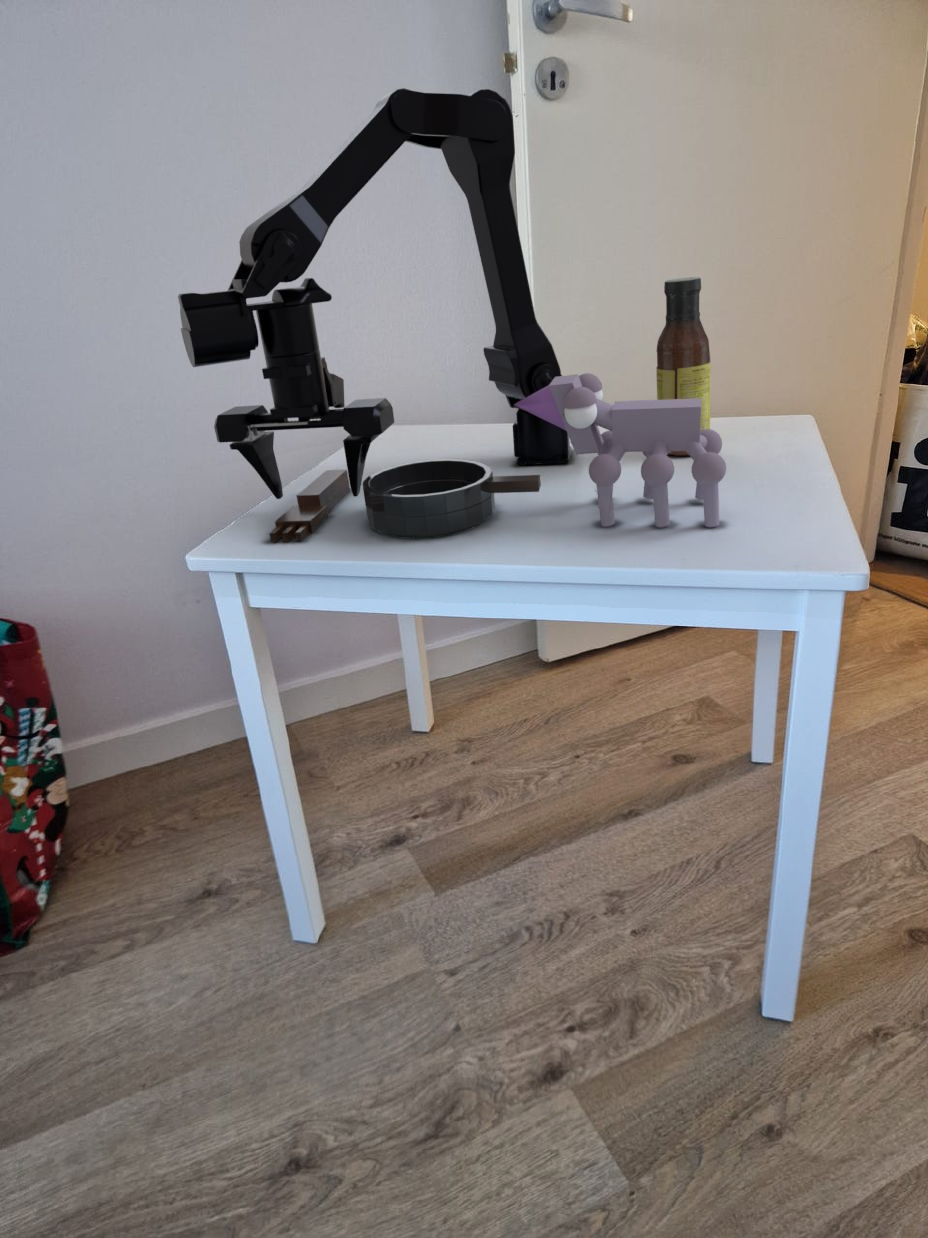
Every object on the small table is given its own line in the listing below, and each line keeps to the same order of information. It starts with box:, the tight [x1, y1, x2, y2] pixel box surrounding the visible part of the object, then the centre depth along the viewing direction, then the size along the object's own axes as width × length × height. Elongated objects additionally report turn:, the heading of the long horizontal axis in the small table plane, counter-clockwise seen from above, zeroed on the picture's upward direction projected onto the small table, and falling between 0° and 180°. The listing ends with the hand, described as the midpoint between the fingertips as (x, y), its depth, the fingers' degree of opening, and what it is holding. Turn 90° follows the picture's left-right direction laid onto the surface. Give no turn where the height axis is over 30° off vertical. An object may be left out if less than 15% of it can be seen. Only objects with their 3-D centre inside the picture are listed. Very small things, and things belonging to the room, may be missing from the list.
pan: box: [362, 458, 496, 539], centre depth 82 cm, size 13×13×4 cm
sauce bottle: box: [655, 276, 711, 457], centre depth 93 cm, size 6×6×20 cm
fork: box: [269, 469, 351, 543], centre depth 87 cm, size 17×4×3 cm, turn 170°
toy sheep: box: [514, 372, 727, 528], centre depth 76 cm, size 20×11×14 cm, turn 74°
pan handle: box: [490, 474, 542, 494], centre depth 80 cm, size 5×2×1 cm, turn 80°
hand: (317, 496), depth 89 cm, fingers open, 9 cm apart
